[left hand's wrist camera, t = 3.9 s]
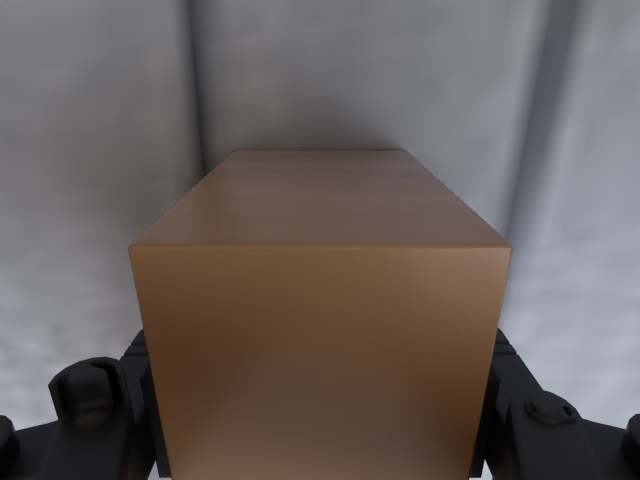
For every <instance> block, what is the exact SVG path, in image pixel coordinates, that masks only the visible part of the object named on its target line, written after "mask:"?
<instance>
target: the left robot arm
mask: <svg viewBox="0 0 640 480" xmlns="http://www.w3.org/2000/svg"><path fill="white" fill-rule="evenodd" d="M48 387H49V390H50V393H51V397H52V400H53V403H54V406H55V410H56V413H57V416H58V420H57V421H54V422H51V423H47V424H43V425H38V426H34V427H30V428H26V429H21V430H17V431H15V429H14V426H13V423H12V421H11V420H10V419H8V418H7V417H6V416H3V415H0V480H148V477H149V475H150V472H151V470H152V467H153V465H154V463H155V460H156V464H157V469H158V474H159V478H171V473H170V468H169V463H168V457H167V452H166V447H165V441H164V436H163V431H162V425H161V420H160V415H159V409H158V404H157V399H156V393H155V388H154V383H153V377H152V372H151V367H150V361H149V356H148V351H147V345H146V340H145V335H144V329H142V330H141V331H140V332H139V333H138V334H137V336H136V337H135V339H134V340H133V342H132V343H131V346H129V347H128V349H127V350H126V352H125V353H124V356H122V357H121V359H120V360H119V361H118V360H117V359H113V358H109V357H97V358H90V359H87V360H83V361H79V362H77V363H75V364H73V365H71V366H69V367H66V368H65V369H64V370H62V371H61V372H60V373H58V374H57V375H56V376H55V377H54V378H53V379H52V381H51V382H50V383H49V385H48ZM484 460H486V462H487V465H488V467H489V470H490V472H491V474H492V477H493V478H492V480H640V414H635V415H634V416H633V417H632V418H630V419H629V422H628V424H627V427H626V429H622V428H618V427H613V426H609V425H605V424H600V423H596V422H592V421H589V420H585V419H582V418H581V416H580V415H579V413H578V412H577V410H576V408H574V407H573V406H572V405H571V404H570V403H568V402H567V401H566V400H565V399H563V398H561V397H559V396H557V395H555V394H554V393H551V392H548V391H544V390H543V389H542V388H541V386H540V385H539V384H538V382H537V381H536V379H535V378H534V376H533V375H532V374H531V372H530V371H529V369H528V368H527V367H526V365H525V364H524V362H523V361H522V359H521V358H520V357H519V355H517V354H516V351H515V349H514V348H513V347H512V345H511V344H509V341H508V339H507V338H506V337H505V335H504V334H503V332H502V331H501V330H500V329H499V328H497V333H496V338H495V344H494V349H493V354H492V359H491V365H490V370H489V375H488V381H487V386H486V391H485V397H484V402H483V407H482V413H481V418H480V423H479V428H478V434H477V439H476V444H475V450H474V455H473V460H472V466H471V471H470V476H469V478H481V475H482V470H483V465H484Z"/></svg>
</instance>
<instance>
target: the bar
mask: <svg viewBox="0 0 640 480" xmlns="http://www.w3.org/2000/svg"><path fill="white" fill-rule="evenodd" d="M511 253H512V245H511V244H510V243H509V242H508V241H506V240H505V239H504V238H503V237H502V236H501V235H500V234H499V233H498V232H496V231H495V230H494V229H493V228H492V227H491V226H490V225H489V224H488V223H486V222H485V221H484V220H483V219H482V218H481V217H480V216H479V215H477V214H476V213H475V212H474V211H473V210H472V209H471V208H470V207H469V206H467V205H466V204H465V203H464V202H463V201H462V200H461V199H460V198H459V197H457V196H456V195H455V194H454V193H453V192H452V191H451V190H450V189H448V188H447V187H446V186H445V185H444V184H443V183H442V182H441V181H440V180H438V179H437V178H436V177H435V176H434V175H433V174H432V173H431V172H430V171H428V170H427V169H426V168H425V167H424V166H423V165H422V164H421V163H419V162H418V161H417V160H416V159H415V158H414V157H413V156H412V155H411V154H409V153H408V152H407V151H406V150H235V151H233V152H232V153H231V154H230V155H229V156H227V157H226V158H225V159H224V160H223V161H222V162H221V163H220V164H219V165H217V166H216V167H215V168H214V169H213V170H212V171H211V172H210V173H209V174H207V175H206V176H205V177H204V178H203V179H202V180H201V181H200V182H199V183H197V184H196V185H195V186H194V187H193V188H192V189H191V190H190V191H189V192H188V193H186V194H185V195H184V196H183V197H182V198H181V199H180V200H179V201H178V202H176V203H175V204H174V205H173V206H172V207H171V208H170V209H169V210H168V211H166V212H165V213H164V214H163V215H162V216H161V217H160V218H159V219H158V220H156V221H155V222H154V223H153V224H152V225H151V226H150V227H149V228H148V229H146V230H145V231H144V232H143V233H142V234H141V235H140V236H139V237H138V238H137V239H135V240H134V241H133V242H132V243H131V244H130V245H129V255H130V260H131V265H132V271H133V276H134V281H135V287H136V292H137V297H138V303H139V308H140V313H141V319H142V324H143V329H144V335H145V340H146V345H147V351H148V356H149V361H150V367H151V372H152V377H153V383H154V388H155V393H156V399H157V404H158V409H159V415H160V420H161V425H162V431H163V436H164V441H165V447H166V452H167V457H168V463H169V468H170V473H171V479H172V480H469V476H470V471H471V466H472V460H473V455H474V450H475V444H476V439H477V434H478V428H479V423H480V418H481V413H482V407H483V402H484V397H485V391H486V386H487V381H488V375H489V370H490V365H491V359H492V354H493V349H494V344H495V338H496V333H497V328H498V322H499V317H500V312H501V306H502V301H503V296H504V291H505V285H506V280H507V275H508V269H509V264H510V259H511Z"/></svg>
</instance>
